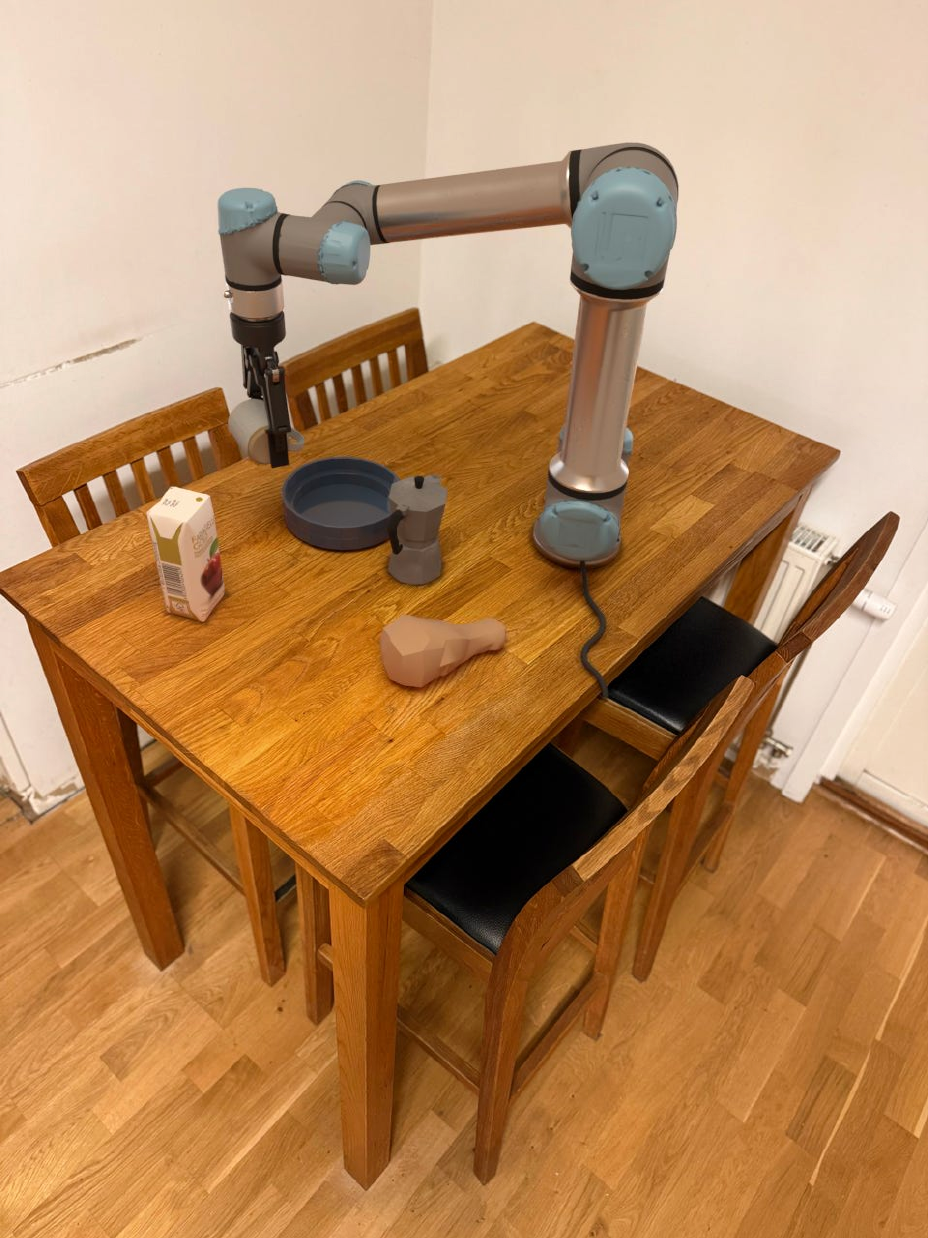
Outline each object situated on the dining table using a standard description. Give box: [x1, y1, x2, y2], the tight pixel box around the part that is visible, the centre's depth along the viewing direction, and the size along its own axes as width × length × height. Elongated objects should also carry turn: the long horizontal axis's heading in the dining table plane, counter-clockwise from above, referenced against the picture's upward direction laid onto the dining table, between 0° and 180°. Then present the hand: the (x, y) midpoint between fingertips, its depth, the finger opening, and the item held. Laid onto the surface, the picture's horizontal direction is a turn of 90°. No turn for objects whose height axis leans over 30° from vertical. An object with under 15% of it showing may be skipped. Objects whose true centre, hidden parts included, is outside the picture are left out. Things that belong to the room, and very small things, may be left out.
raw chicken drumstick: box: [378, 613, 507, 688], centre depth 129 cm, size 11×20×9 cm, turn 121°
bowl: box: [281, 456, 401, 551], centre depth 153 cm, size 21×21×6 cm
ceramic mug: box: [227, 398, 306, 466], centre depth 137 cm, size 11×8×8 cm
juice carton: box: [146, 486, 225, 623], centre depth 130 cm, size 8×9×19 cm
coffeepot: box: [387, 473, 448, 586], centre depth 140 cm, size 15×9×18 cm, turn 153°
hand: (270, 450), depth 139 cm, fingers closed on ceramic mug, 8 cm apart
